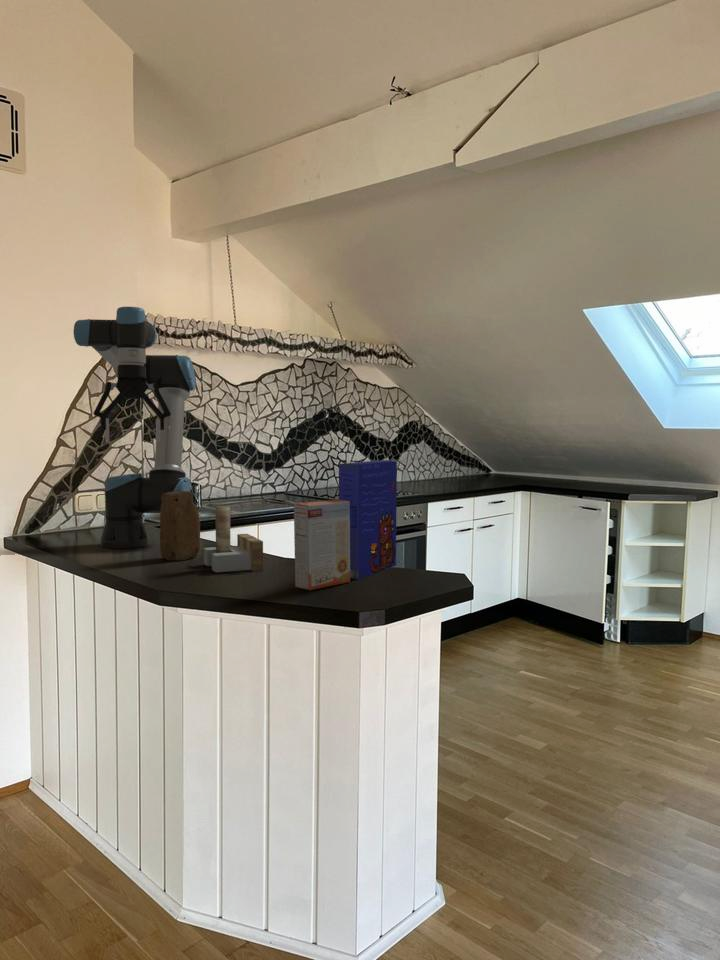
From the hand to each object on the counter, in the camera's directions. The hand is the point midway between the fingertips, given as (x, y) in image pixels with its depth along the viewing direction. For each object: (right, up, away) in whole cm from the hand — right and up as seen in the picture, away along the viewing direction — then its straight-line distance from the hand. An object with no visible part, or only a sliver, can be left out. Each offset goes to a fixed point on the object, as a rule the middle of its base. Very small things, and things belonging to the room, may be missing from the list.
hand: (133, 442), depth 204 cm
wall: (+32, -35, +4) cm, 47 cm away
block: (+10, -34, +15) cm, 38 cm away
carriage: (+26, -35, +2) cm, 43 cm away
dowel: (+25, -35, +1) cm, 43 cm away
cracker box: (+53, -37, -20) cm, 68 cm away
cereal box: (+65, -36, -2) cm, 74 cm away
